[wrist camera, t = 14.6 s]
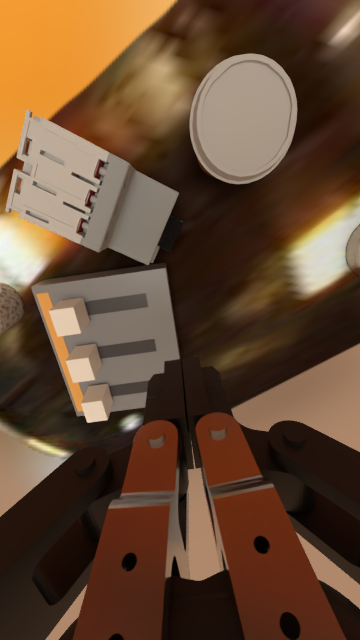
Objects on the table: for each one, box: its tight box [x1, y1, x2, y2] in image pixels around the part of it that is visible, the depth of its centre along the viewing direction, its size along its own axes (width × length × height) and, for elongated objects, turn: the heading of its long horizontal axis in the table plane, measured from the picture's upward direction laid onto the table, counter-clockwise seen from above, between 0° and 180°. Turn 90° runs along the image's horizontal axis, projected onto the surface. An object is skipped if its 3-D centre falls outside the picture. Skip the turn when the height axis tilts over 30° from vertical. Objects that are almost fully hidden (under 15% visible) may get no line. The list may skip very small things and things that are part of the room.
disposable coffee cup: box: [190, 54, 297, 184], centre depth 28 cm, size 10×10×12 cm
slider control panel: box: [31, 263, 180, 416], centre depth 41 cm, size 18×22×4 cm
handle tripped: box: [66, 344, 102, 383], centre depth 37 cm, size 3×4×4 cm
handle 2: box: [81, 384, 113, 423], centre depth 40 cm, size 3×4×4 cm
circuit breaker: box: [5, 110, 184, 265], centre depth 29 cm, size 8×14×15 cm, turn 65°
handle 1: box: [49, 297, 90, 337], centre depth 34 cm, size 3×4×4 cm
